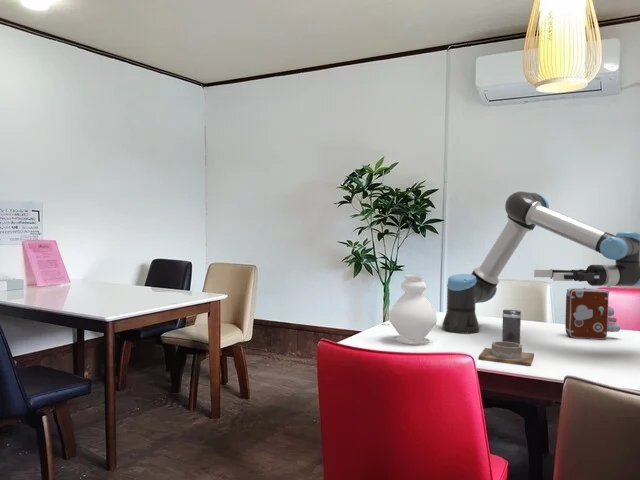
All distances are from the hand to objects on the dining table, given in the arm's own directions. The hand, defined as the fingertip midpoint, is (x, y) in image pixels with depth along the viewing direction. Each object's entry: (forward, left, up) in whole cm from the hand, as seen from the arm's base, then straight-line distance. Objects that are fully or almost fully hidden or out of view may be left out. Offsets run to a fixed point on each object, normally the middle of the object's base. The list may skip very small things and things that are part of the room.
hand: (543, 275), depth 181 cm
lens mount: (-10, -17, -27) cm, 34 cm away
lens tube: (-10, -4, -27) cm, 29 cm away
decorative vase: (-45, -8, -27) cm, 53 cm away
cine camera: (+17, +36, -27) cm, 48 cm away
